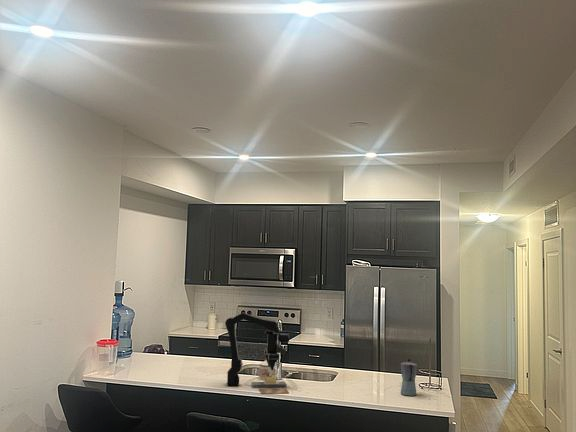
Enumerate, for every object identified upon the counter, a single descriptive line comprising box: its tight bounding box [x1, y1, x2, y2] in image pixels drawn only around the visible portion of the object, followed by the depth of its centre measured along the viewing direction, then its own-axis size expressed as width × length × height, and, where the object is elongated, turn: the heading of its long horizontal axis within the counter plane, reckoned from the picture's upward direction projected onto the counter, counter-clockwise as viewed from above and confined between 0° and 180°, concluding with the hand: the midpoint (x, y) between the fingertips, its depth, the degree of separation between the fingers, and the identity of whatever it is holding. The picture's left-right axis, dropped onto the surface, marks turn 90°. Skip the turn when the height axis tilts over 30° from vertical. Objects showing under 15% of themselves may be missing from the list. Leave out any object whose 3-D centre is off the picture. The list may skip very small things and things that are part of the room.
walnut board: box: [258, 387, 290, 395], centre depth 306 cm, size 16×10×1 cm, turn 101°
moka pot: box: [400, 358, 418, 397], centre depth 310 cm, size 10×15×20 cm, turn 2°
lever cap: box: [264, 375, 277, 384], centre depth 318 cm, size 6×5×4 cm
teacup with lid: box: [258, 359, 278, 381], centre depth 339 cm, size 12×9×12 cm
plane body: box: [250, 380, 287, 389], centre depth 318 cm, size 20×7×5 cm, turn 101°
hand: (270, 368), depth 319 cm, fingers open, 9 cm apart
